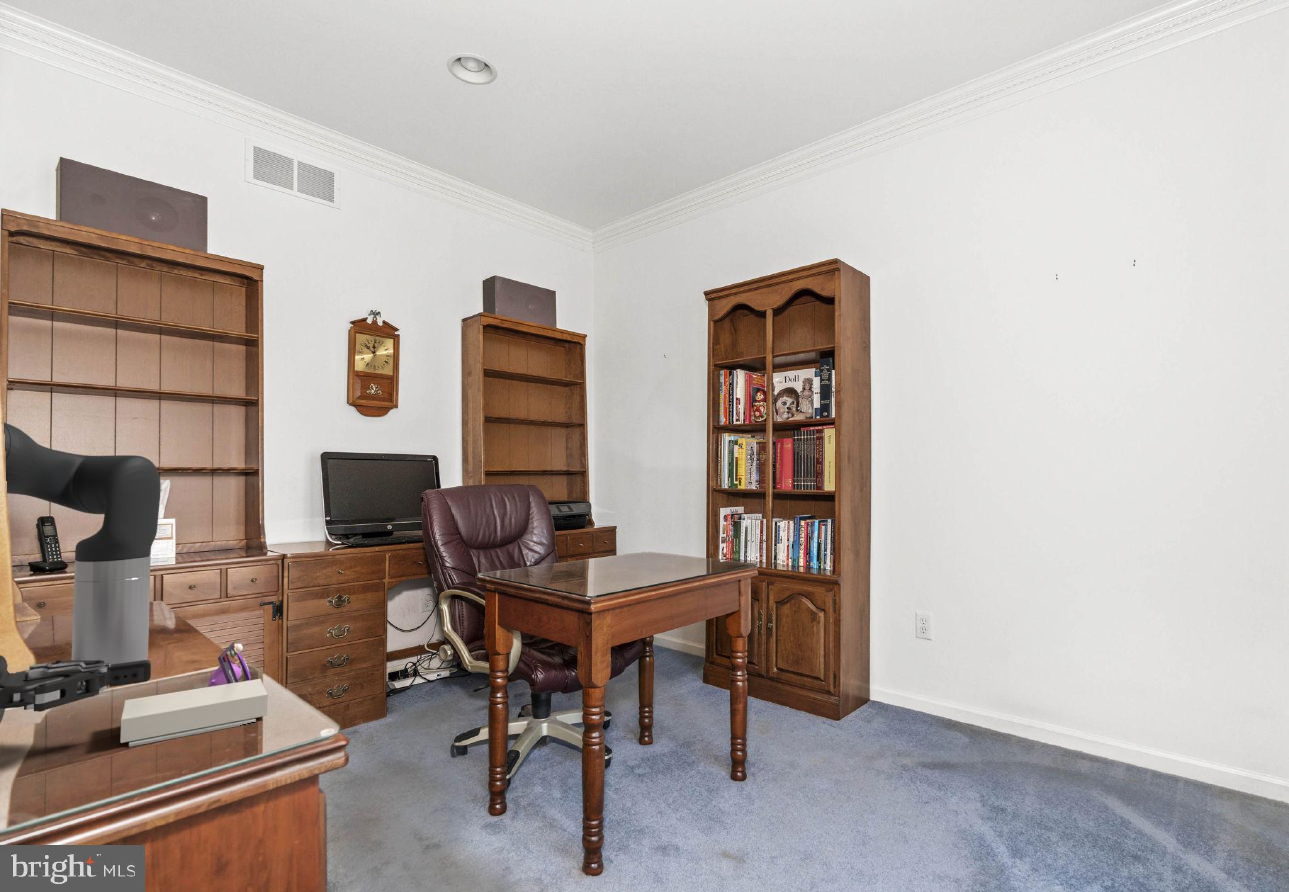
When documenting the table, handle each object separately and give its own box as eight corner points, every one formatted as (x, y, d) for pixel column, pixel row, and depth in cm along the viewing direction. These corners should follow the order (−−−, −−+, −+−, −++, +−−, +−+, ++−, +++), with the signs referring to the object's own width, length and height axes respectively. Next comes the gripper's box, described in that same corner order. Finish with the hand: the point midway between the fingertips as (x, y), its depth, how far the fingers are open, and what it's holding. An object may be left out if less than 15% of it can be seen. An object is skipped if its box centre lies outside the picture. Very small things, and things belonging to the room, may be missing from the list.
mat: (133, 722, 79) (133, 720, 79) (248, 702, 86) (248, 700, 86) (128, 746, 72) (129, 744, 72) (255, 722, 79) (255, 720, 79)
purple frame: (227, 654, 85) (241, 638, 94) (181, 672, 84) (200, 654, 92) (245, 701, 86) (258, 682, 94) (201, 720, 84) (218, 699, 92)
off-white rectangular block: (125, 700, 79) (260, 678, 87) (124, 722, 79) (260, 699, 87) (121, 719, 72) (267, 694, 80) (120, 744, 72) (267, 716, 80)
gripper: (-81, 677, 62) (150, 648, 72) (-43, 649, 73) (153, 627, 83) (-85, 759, 61) (148, 719, 71) (-46, 718, 72) (151, 688, 82)
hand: (150, 669), depth 77 cm, fingers closed
